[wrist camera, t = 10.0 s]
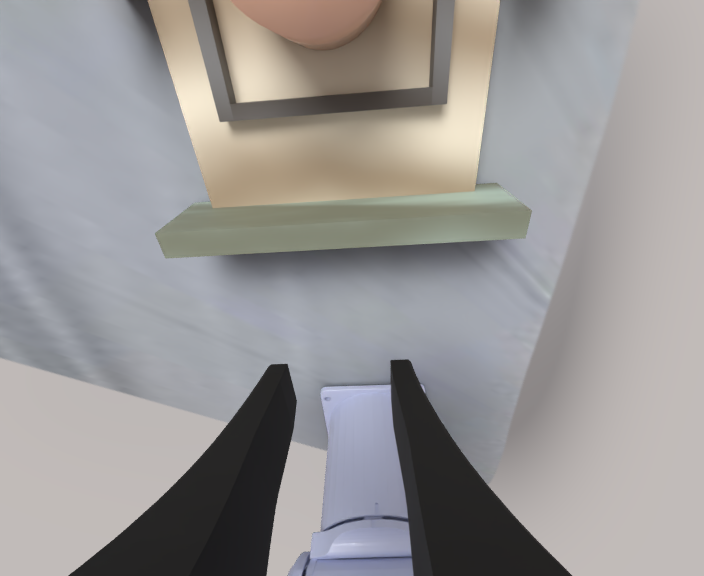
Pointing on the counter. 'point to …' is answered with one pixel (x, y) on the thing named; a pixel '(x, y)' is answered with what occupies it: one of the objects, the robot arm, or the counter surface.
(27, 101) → the counter surface
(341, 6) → the peach rounded cylinder
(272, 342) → the counter surface
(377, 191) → the tray
